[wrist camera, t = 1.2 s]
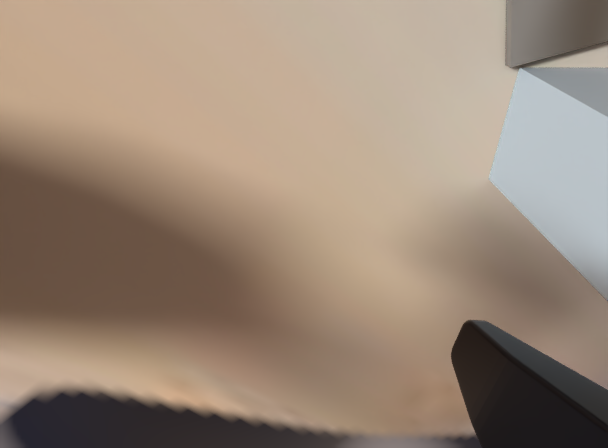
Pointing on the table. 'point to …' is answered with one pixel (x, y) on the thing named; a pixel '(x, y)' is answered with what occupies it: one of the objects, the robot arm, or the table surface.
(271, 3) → the table surface
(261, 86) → the table surface
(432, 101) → the table surface
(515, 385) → the robot arm
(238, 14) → the table surface
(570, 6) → the brown angular stand
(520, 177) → the pale blue beveled prism
